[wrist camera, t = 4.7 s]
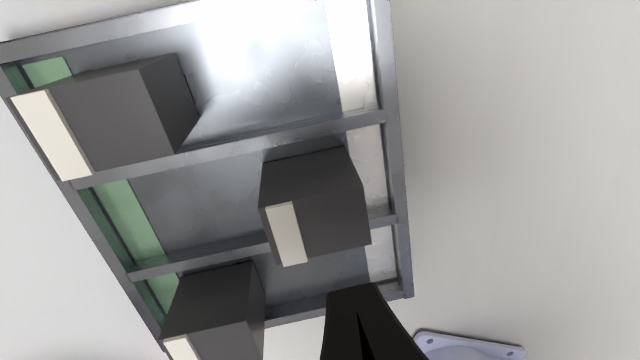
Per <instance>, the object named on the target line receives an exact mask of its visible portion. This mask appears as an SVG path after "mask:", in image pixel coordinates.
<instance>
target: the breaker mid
mask: <svg viewBox="0 0 640 360" xmlns="http://www.w3.org/2000/svg"><path fill="white" fill-rule="evenodd" d="M258 212H259V215H260V218H261V221H262V224H263V227H264V230H265V233H266V236H267V239H268V242H269V245H270V248H271V251H272V254H273V257H274V260H275V263H276V265H280V264H283V267H287V266H291V265H296V264H300V263H305V262H308V258H312V257H317V256H321V255H326V254H330V253H335V252H339V251H344V250H349V249H353V248H358V247H362V246H367V245H371V244H372V240H371V233H370V226H369V220H368V213H367V206H366V200H365V193H364V186H363V184H362V181H361V179H360V177H359V175H358V173H357V171H356V168H355V166H354V164H353V162H352V160H351V158H350V155H349V153H348V151H347V149H346V147H345V146H342V147H337V148H333V149H328V150H324V151H319V152H315V153H310V154H305V155H301V156H296V157H292V158H287V159H283V160H278V161H273V162H269V163H264V164H262V172H261V182H260V191H259V200H258Z"/></svg>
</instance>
